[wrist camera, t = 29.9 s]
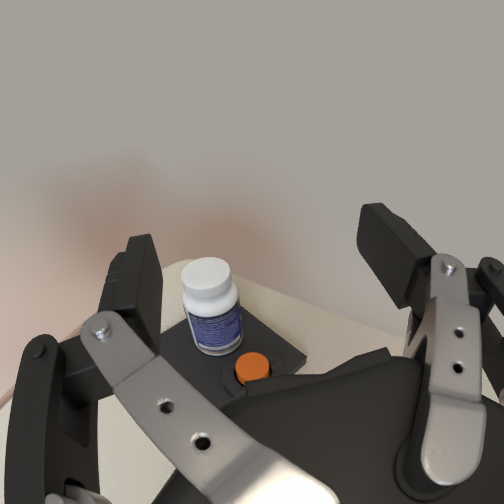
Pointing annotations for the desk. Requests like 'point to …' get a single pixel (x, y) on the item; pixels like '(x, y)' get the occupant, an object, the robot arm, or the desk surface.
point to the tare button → (252, 367)
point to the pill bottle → (212, 306)
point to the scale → (226, 358)
